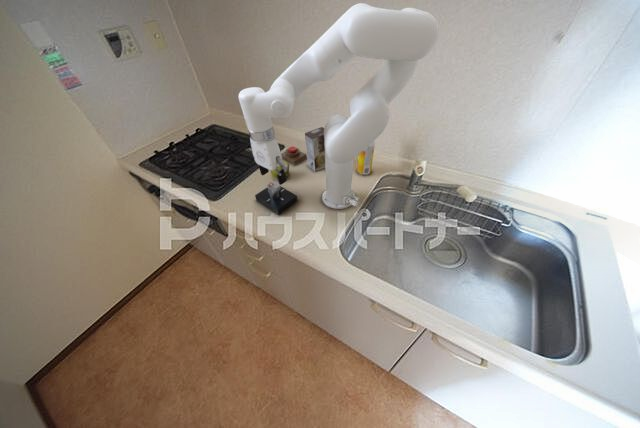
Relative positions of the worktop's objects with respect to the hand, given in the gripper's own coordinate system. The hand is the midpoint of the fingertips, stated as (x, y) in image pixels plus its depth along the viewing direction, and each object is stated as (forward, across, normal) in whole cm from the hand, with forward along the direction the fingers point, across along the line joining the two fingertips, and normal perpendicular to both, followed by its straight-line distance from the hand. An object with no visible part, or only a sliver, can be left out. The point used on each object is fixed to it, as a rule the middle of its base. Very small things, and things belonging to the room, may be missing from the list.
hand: (274, 177), depth 85 cm
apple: (+11, -12, +11) cm, 20 cm away
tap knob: (+8, -1, -1) cm, 8 cm away
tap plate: (+11, -1, -1) cm, 11 cm away
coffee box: (+12, -4, +28) cm, 31 cm away
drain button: (+8, -18, +25) cm, 32 cm away
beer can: (+13, +15, +36) cm, 41 cm away
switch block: (+11, -18, +25) cm, 33 cm away
